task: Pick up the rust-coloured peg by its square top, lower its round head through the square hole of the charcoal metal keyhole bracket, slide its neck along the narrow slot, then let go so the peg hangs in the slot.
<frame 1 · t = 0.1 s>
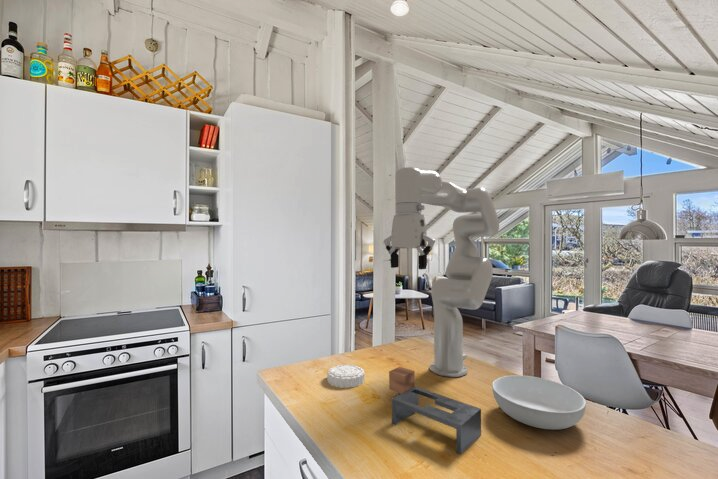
hand: (408, 268, 101), 37 cm above the table, tool pointing down, fingers open, 9 cm apart
serving bowl: (536, 419, 86), on the table
mooncake: (346, 381, 110), on the table
keyhole bracket: (435, 429, 81), on the table
keyhole peg: (401, 401, 95), on the table
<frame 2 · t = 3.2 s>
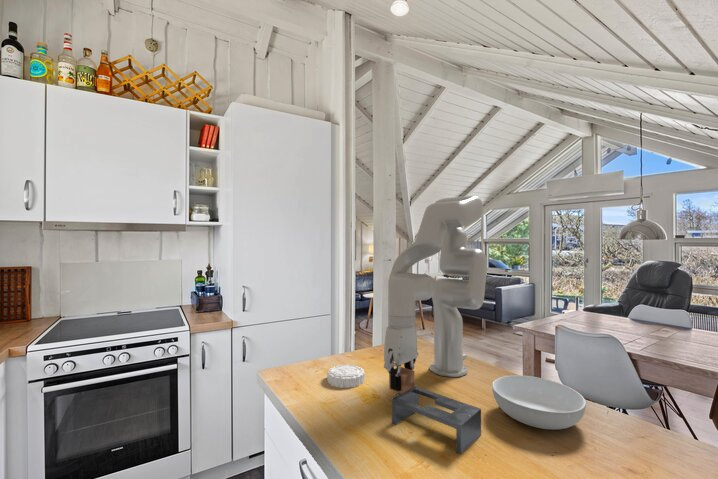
hand: (401, 385, 95), 4 cm above the table, tool pointing down, fingers closed on keyhole peg, 5 cm apart
keyhole peg: (401, 401, 95), on the table, touching gripper
everything else where it was.
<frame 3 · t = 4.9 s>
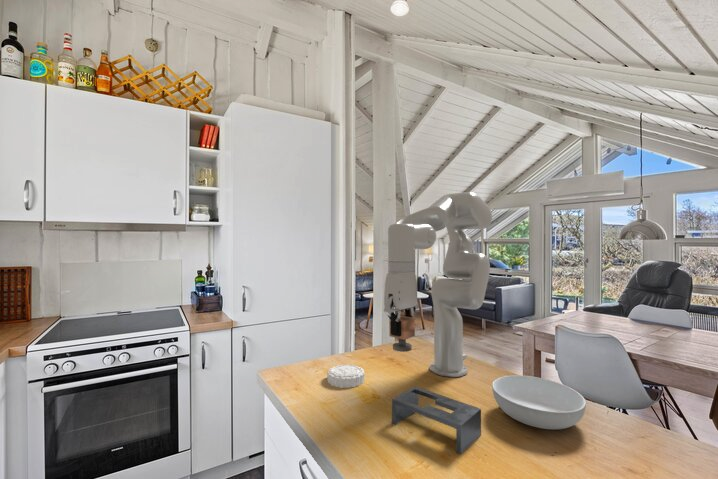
hand: (402, 332, 95), 19 cm above the table, tool pointing down, fingers closed on keyhole peg, 5 cm apart
keyhole peg: (402, 348, 95), point 15 cm above the table, touching gripper
everything else where it was.
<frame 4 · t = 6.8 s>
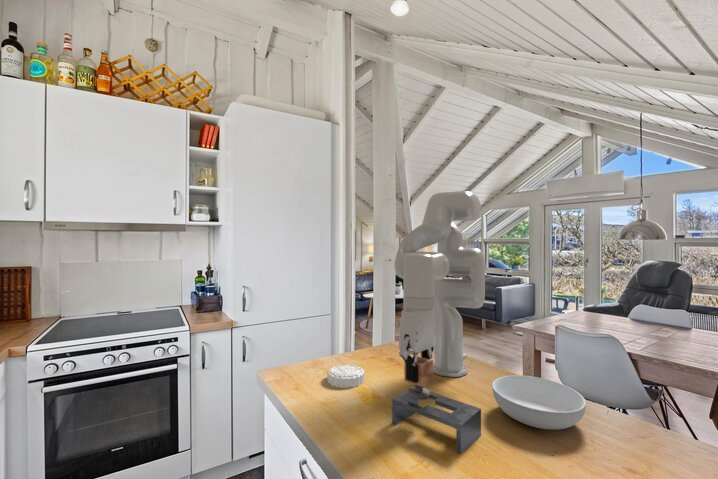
hand: (418, 376, 84), 11 cm above the table, tool pointing down, fingers closed on keyhole peg, 5 cm apart
keyhole peg: (418, 395, 84), point 7 cm above the table, touching gripper
everything else where it was.
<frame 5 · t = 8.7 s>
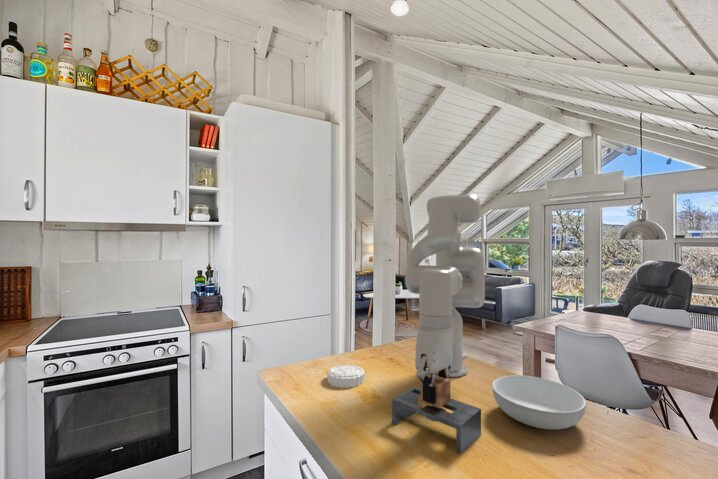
hand: (435, 397, 81), 8 cm above the table, tool pointing down, fingers closed on keyhole peg, 5 cm apart
keyhole peg: (435, 415, 81), point 3 cm above the table, touching gripper
everything else where it was.
when the fingers open (7 cm above the table, at t = 10.4 s): keyhole peg stays where it is, resting on keyhole bracket.
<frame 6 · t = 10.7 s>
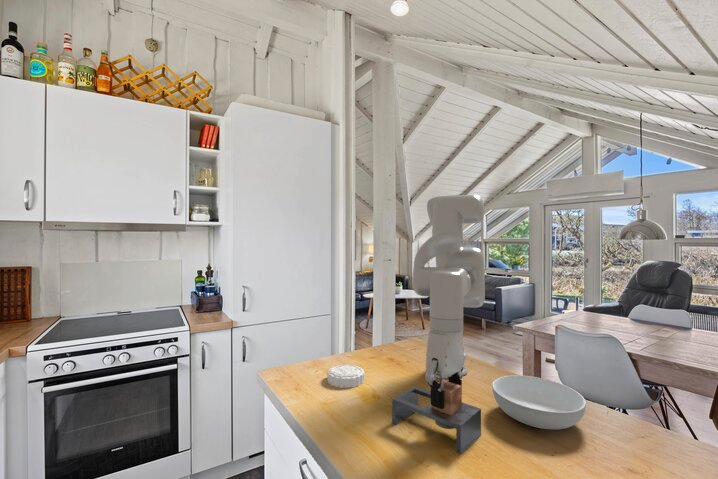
hand: (446, 400, 79), 8 cm above the table, tool pointing down, fingers open, 7 cm apart
keyhole peg: (446, 422, 79), point 2 cm above the table, touching keyhole bracket
everything else where it was.
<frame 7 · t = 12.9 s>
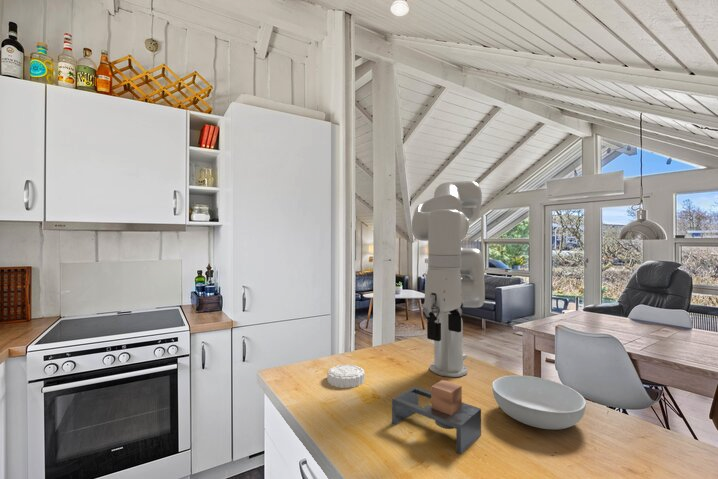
hand: (444, 335, 80), 22 cm above the table, tool pointing down, fingers open, 9 cm apart
nothing on the table moved.
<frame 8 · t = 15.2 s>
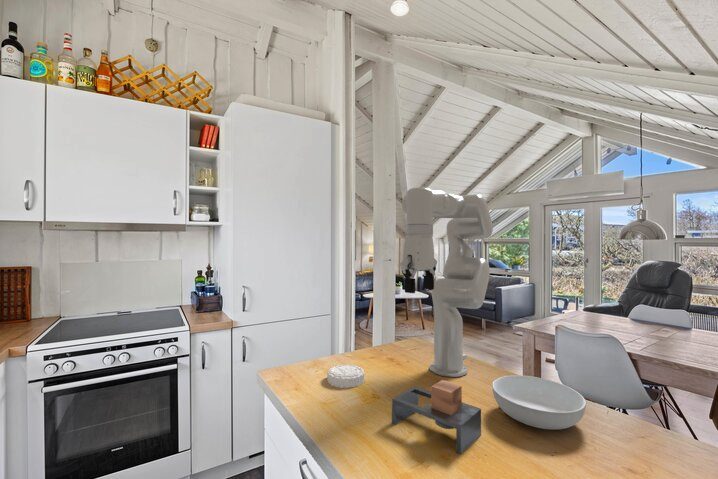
hand: (419, 290, 98), 30 cm above the table, tool pointing down, fingers open, 9 cm apart
nothing on the table moved.
at the end: keyhole peg 0.1 cm from the target spot on the keyhole bracket, point 2.5 cm above the keyhole bracket's base; keyhole peg tilted 0°; the gripper is holding nothing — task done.
